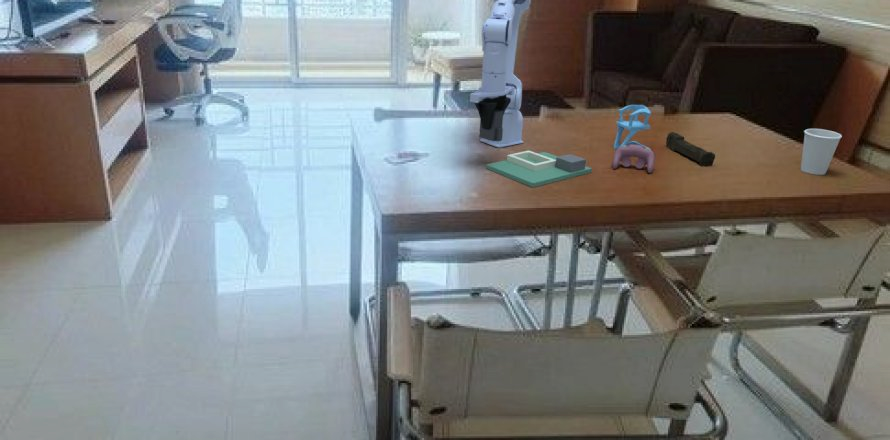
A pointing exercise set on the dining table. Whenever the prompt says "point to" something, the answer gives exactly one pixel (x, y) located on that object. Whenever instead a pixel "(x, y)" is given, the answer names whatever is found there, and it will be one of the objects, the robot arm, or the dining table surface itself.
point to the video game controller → (634, 151)
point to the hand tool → (689, 149)
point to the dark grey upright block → (493, 127)
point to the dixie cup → (818, 150)
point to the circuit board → (539, 167)
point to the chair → (631, 124)
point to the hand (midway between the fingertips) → (490, 127)
